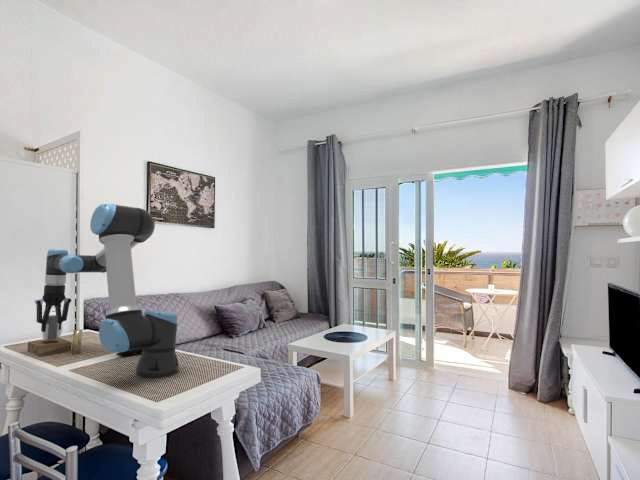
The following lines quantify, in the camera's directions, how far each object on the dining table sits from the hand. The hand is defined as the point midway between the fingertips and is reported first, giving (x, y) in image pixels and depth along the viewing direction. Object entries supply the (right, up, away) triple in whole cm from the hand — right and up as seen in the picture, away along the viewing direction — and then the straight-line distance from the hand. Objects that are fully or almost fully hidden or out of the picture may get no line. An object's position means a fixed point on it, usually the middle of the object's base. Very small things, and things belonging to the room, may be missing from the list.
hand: (50, 338), depth 164 cm
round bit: (+12, -6, -2) cm, 14 cm away
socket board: (0, -6, 0) cm, 6 cm away
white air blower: (-10, -6, +15) cm, 19 cm away
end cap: (+34, -8, +2) cm, 35 cm away
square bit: (0, 0, 0) cm, 0 cm away
